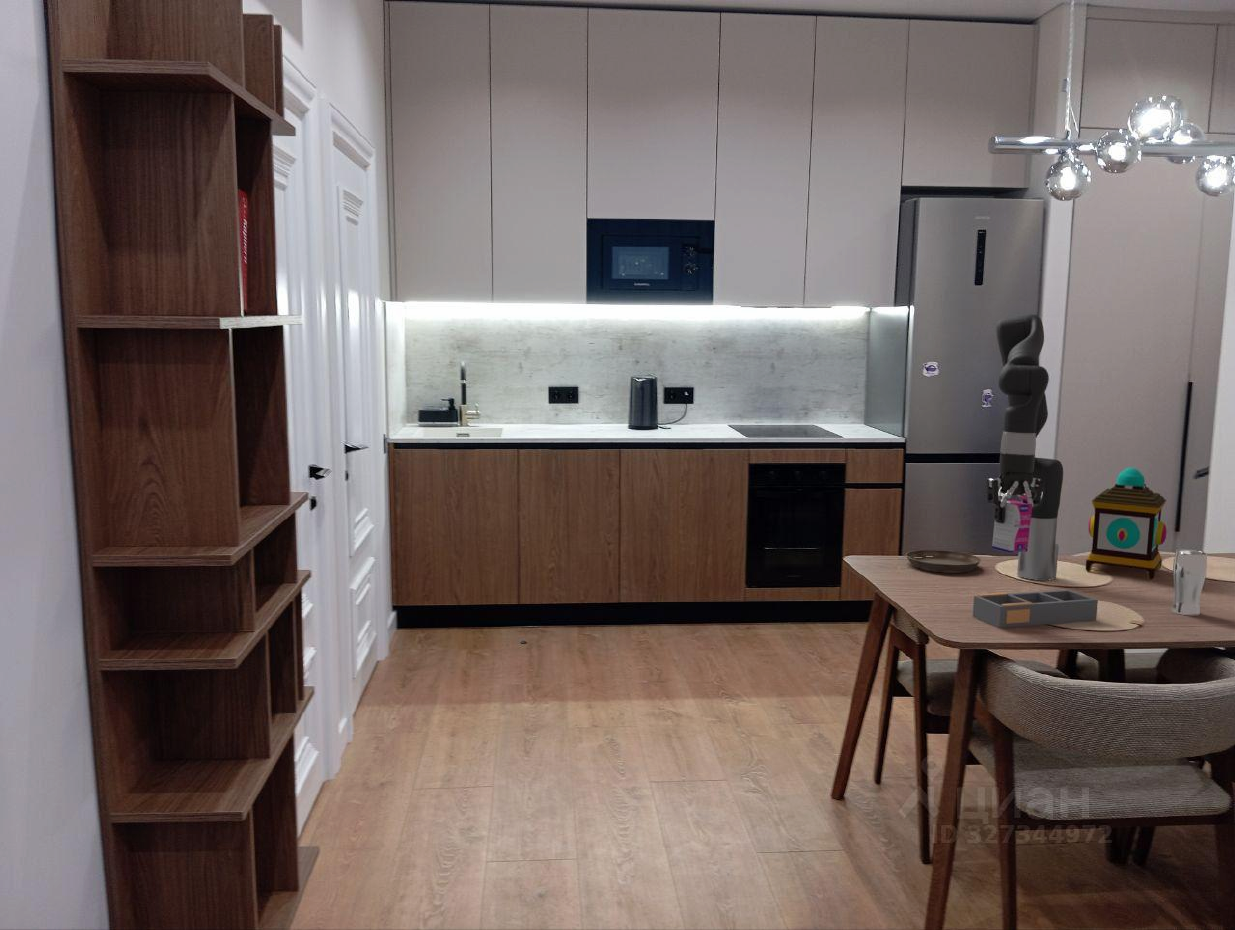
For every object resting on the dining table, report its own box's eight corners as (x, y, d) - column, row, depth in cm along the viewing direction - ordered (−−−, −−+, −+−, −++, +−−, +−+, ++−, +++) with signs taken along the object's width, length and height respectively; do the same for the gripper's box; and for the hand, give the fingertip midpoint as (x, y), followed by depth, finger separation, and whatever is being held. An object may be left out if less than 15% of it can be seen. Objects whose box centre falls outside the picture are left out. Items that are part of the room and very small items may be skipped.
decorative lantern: (1079, 572, 279) (1087, 467, 275) (1091, 560, 295) (1099, 461, 292) (1158, 583, 268) (1168, 474, 264) (1166, 569, 284) (1175, 467, 280)
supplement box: (1011, 553, 226) (1015, 504, 225) (991, 548, 232) (994, 500, 230) (1029, 551, 229) (1033, 503, 228) (1008, 547, 234) (1012, 499, 233)
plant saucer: (895, 559, 293) (895, 548, 293) (962, 559, 294) (963, 548, 294) (920, 576, 273) (921, 564, 272) (992, 576, 274) (993, 564, 273)
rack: (1067, 609, 239) (1068, 588, 239) (1097, 620, 230) (1098, 598, 229) (972, 616, 232) (974, 594, 231) (999, 628, 222) (1001, 605, 222)
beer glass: (1201, 618, 234) (1207, 556, 232) (1168, 613, 237) (1174, 552, 235) (1202, 611, 239) (1208, 551, 238) (1170, 607, 243) (1175, 547, 241)
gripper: (1033, 450, 233) (1027, 519, 235) (981, 449, 229) (975, 520, 231) (1055, 453, 226) (1049, 524, 228) (1001, 453, 222) (996, 525, 224)
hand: (1012, 522), depth 229 cm, fingers closed on supplement box, 6 cm apart
